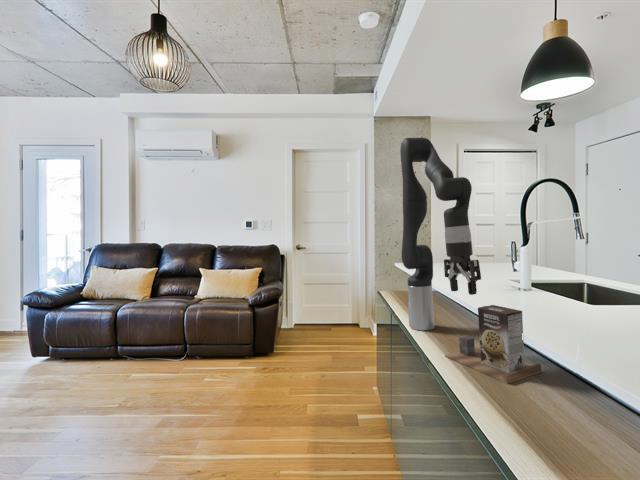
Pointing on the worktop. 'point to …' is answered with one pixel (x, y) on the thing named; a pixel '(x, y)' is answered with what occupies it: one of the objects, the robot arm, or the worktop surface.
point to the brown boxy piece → (501, 338)
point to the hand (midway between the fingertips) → (463, 292)
